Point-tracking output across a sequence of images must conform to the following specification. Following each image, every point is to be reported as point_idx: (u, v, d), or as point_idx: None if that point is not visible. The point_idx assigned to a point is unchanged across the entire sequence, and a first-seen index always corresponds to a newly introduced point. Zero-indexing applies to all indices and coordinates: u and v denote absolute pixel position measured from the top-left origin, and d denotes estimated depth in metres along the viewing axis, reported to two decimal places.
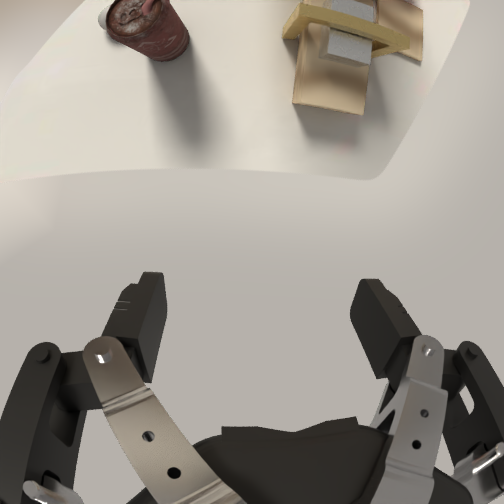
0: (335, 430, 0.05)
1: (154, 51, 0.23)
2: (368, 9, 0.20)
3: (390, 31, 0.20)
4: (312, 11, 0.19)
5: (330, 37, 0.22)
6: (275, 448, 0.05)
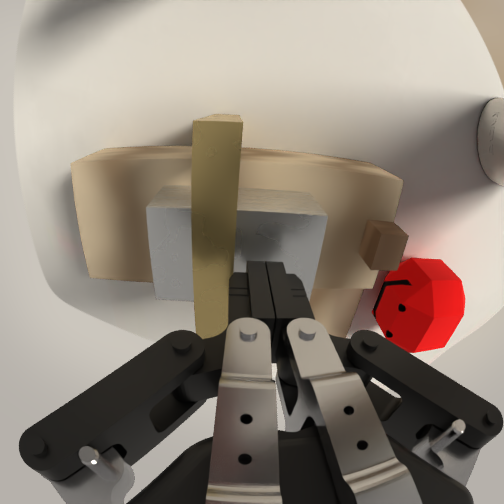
0: None
1: None
2: None
3: None
4: (214, 159, 0.09)
5: (190, 211, 0.12)
6: None
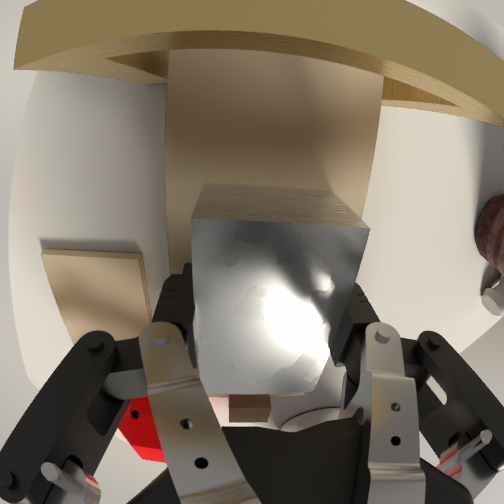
0: (335, 430, 0.05)
1: None
2: (216, 386, 0.11)
3: (116, 22, 0.03)
4: None
5: (350, 285, 0.09)
6: (275, 448, 0.05)
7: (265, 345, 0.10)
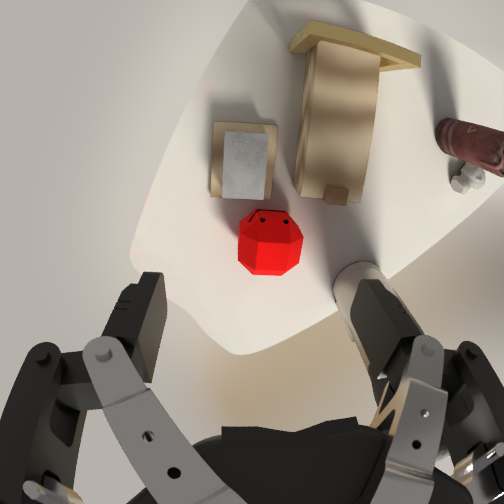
0: (335, 430, 0.05)
1: None
2: (227, 193, 0.33)
3: (335, 36, 0.20)
4: (411, 56, 0.20)
5: (266, 151, 0.31)
6: (275, 448, 0.05)
7: (243, 172, 0.32)
